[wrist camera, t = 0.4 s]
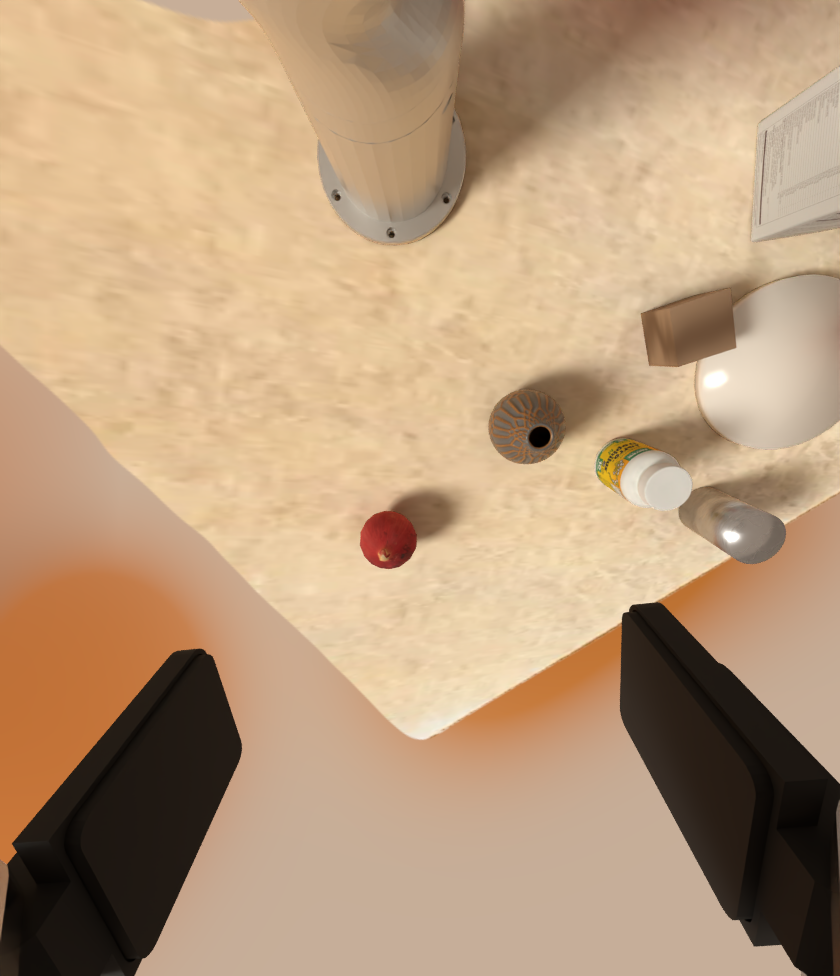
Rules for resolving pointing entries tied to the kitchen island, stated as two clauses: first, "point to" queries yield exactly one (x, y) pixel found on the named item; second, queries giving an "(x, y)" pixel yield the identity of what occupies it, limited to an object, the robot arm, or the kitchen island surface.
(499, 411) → the vase
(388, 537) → the onion
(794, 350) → the white plate
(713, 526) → the steel canister
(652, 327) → the walnut block
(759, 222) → the supplement box
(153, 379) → the kitchen island surface
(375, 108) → the robot arm
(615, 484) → the supplement bottle
